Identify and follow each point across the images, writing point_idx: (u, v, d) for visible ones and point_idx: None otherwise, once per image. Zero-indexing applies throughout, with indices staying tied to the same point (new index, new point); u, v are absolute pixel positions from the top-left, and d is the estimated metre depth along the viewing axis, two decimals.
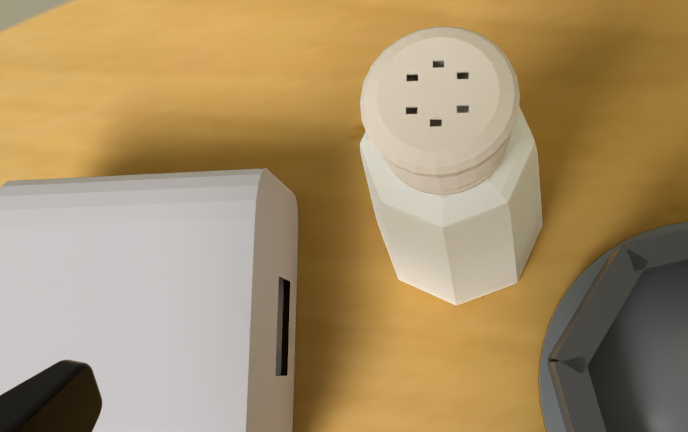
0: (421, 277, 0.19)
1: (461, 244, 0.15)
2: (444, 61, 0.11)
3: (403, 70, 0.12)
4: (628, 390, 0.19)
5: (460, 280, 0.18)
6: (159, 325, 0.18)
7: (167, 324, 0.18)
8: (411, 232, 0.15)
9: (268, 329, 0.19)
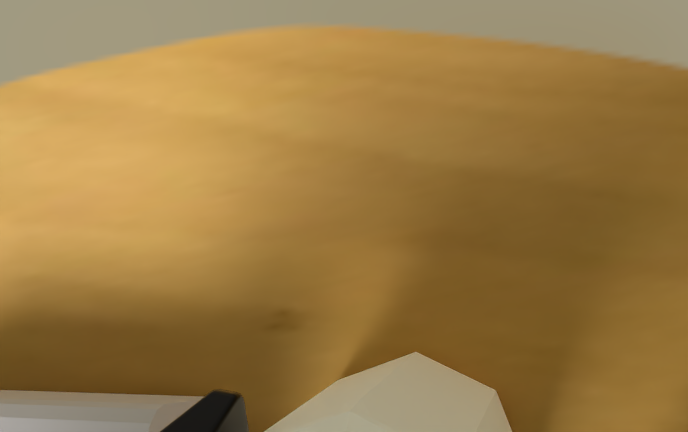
0: None
1: None
2: None
3: None
4: None
5: None
6: None
7: None
8: None
9: None
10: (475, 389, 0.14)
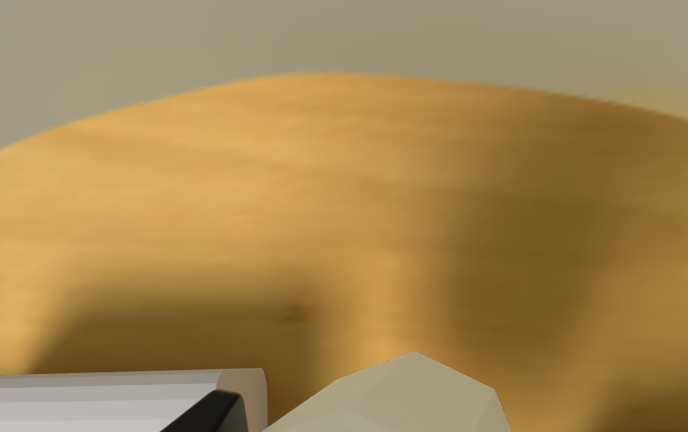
0: None
1: None
2: None
3: None
4: None
5: None
6: None
7: None
8: None
9: None
10: (474, 388, 0.14)
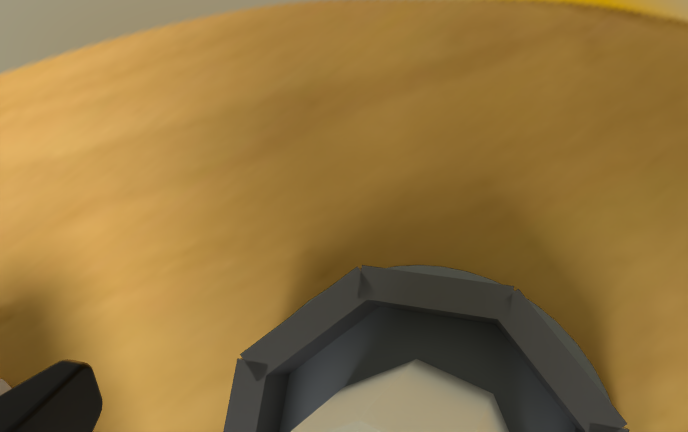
0: None
1: None
2: None
3: None
4: None
5: None
6: None
7: None
8: None
9: None
10: (473, 394, 0.15)
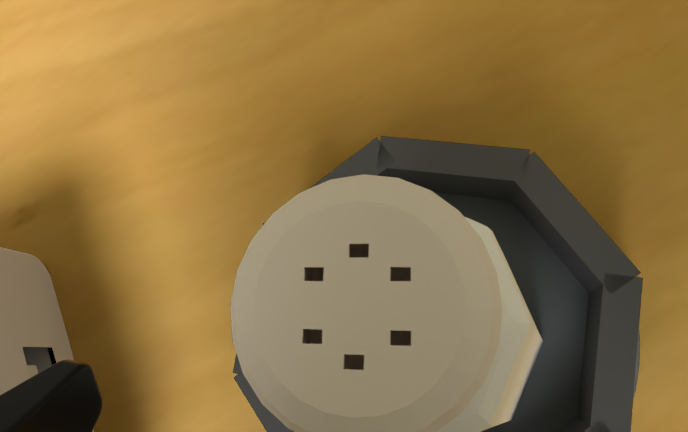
0: None
1: None
2: (369, 245, 0.07)
3: (299, 260, 0.07)
4: None
5: None
6: None
7: None
8: None
9: None
10: None
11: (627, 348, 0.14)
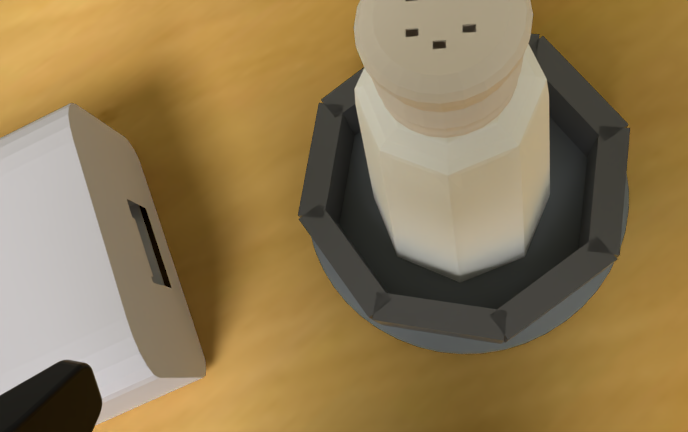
0: (422, 249, 0.18)
1: (467, 200, 0.14)
2: None
3: None
4: None
5: (465, 249, 0.17)
6: (19, 267, 0.19)
7: (25, 263, 0.19)
8: (412, 188, 0.14)
9: (127, 240, 0.20)
10: None
11: (618, 181, 0.18)
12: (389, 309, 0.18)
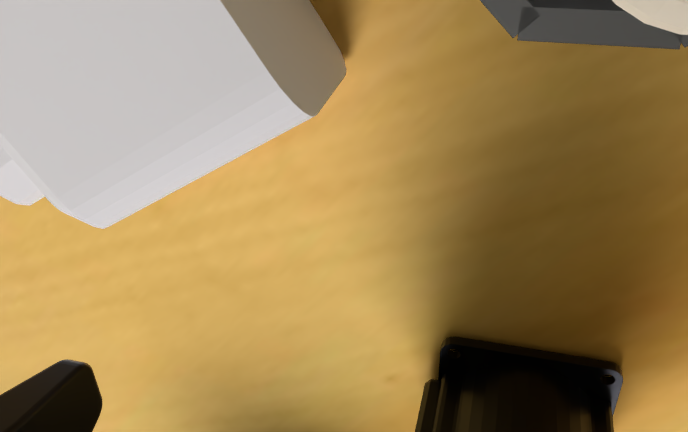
0: None
1: None
2: None
3: None
4: None
5: None
6: (125, 26, 0.16)
7: (130, 20, 0.16)
8: None
9: None
10: None
11: None
12: (538, 26, 0.15)
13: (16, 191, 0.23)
